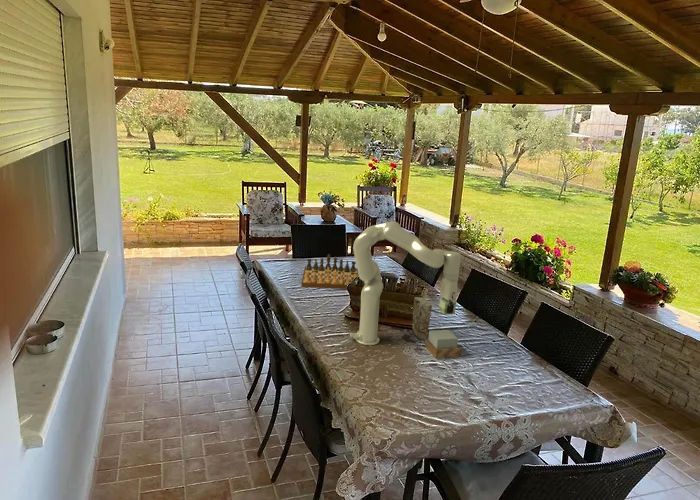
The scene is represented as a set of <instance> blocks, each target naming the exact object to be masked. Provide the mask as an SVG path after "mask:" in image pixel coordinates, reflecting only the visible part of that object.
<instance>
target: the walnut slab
mask: <svg viewBox="0 0 700 500" xmlns="http://www.w3.org/2000/svg"><path fill="white" fill-rule="evenodd" d="M424 348H425V350H427V351H428V352H429V354H431V355H432V357H434V358H435V360H436V359H437V360H440V359H454V358H462V355H463V354H462V353H463V348H462V347H461V346H460V345H458V344H457V348H443V349H436V348H435V346H434V345H433V344H432V343H431V342H430V341H429V340H428V338H427V339H424Z"/></svg>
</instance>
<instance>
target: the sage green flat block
mask: <svg viewBox="0 0 700 500" xmlns="http://www.w3.org/2000/svg"><path fill="white" fill-rule="evenodd" d="M427 339H428V340H429V341H430V342H431V343H432V344H433V345H434V346H435V348H436V349H443V348H457V345H458V342H459V338H458V337H457V336H456V334H454V333H453V332H452V331H451V330H449V329H440V330H437V329H436V330H434V329H433V330H428V337H427Z"/></svg>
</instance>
